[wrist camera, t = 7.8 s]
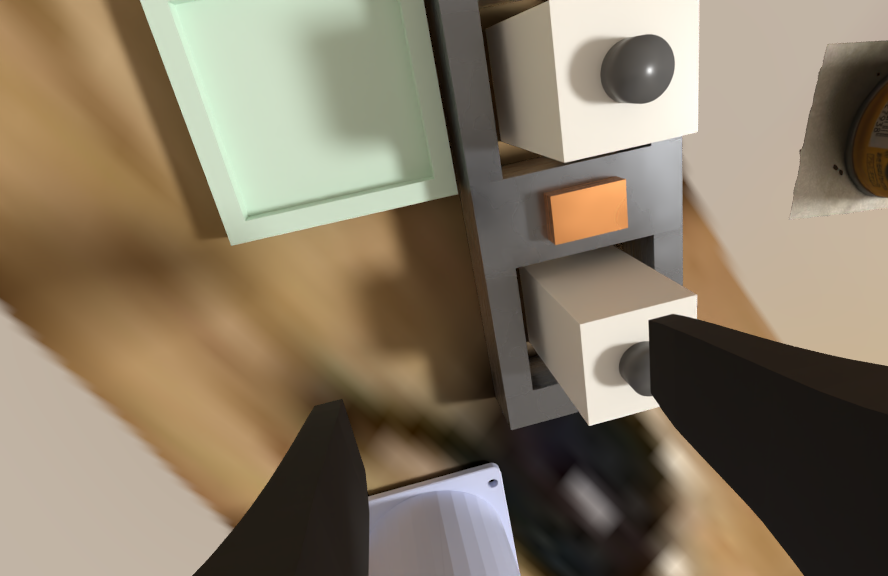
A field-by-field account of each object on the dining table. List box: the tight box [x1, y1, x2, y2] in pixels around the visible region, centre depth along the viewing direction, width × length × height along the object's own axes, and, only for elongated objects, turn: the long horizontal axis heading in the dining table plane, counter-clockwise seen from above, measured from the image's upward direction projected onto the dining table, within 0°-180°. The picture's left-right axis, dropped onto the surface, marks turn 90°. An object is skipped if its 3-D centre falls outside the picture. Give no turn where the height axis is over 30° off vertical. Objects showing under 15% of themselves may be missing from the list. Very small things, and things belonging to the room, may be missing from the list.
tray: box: [140, 0, 458, 246], centre depth 18 cm, size 8×8×1 cm
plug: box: [485, 0, 699, 163], centre depth 16 cm, size 4×4×7 cm
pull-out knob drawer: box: [519, 245, 697, 426], centre depth 19 cm, size 4×4×7 cm
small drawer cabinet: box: [425, 0, 683, 430], centre depth 20 cm, size 18×8×3 cm, turn 11°
